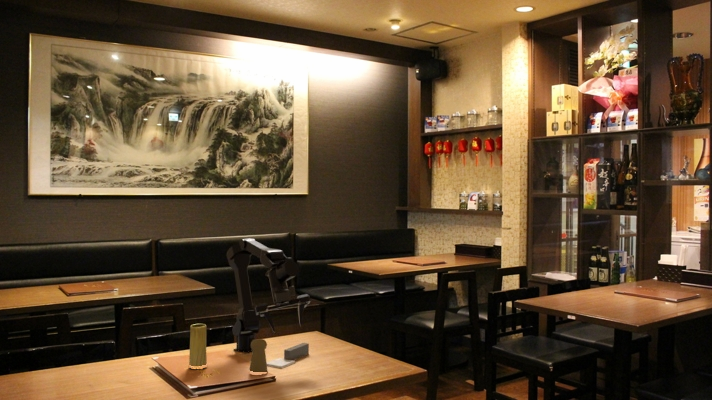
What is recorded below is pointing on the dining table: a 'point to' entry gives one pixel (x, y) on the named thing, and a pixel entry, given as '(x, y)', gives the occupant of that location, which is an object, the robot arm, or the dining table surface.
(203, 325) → the vase
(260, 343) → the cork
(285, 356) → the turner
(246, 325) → the robot arm
